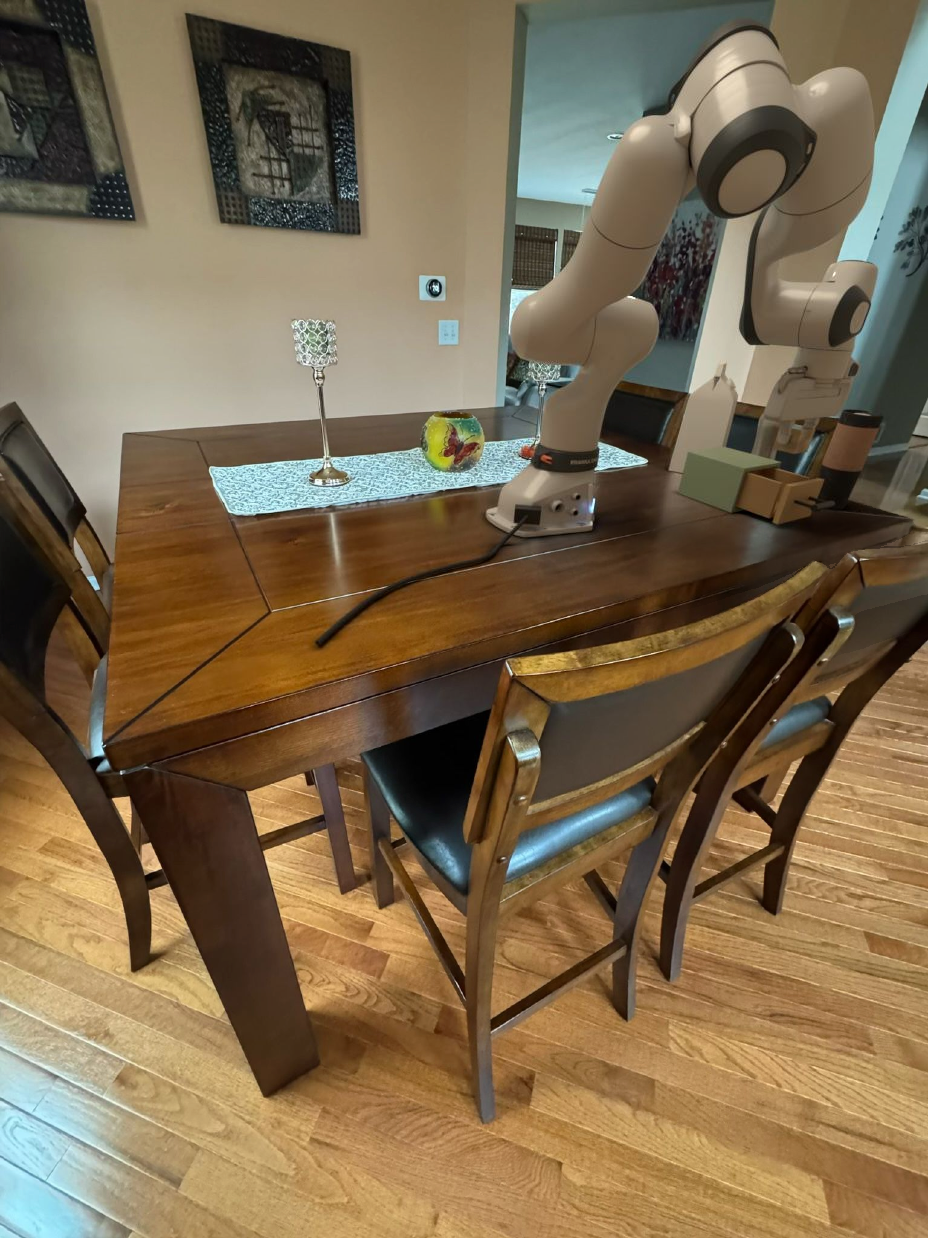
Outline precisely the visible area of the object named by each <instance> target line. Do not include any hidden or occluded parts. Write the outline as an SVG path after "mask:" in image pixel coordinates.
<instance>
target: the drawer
mask: <svg viewBox="0 0 928 1238" xmlns="http://www.w3.org/2000/svg"><path fill="white" fill-rule="evenodd" d="M823 482H824V479H821V478H817V477H816V478H813V479H811V477H809V476H806V475H802V474H799V473H795V472H791V471H788V470H785V469H781V468H779V469H778V468H774V467H771V468H765V469H759V470H754V471H748V472H746V473H745V476H744V480H743V483H742V486H741V489H740V492H739V496H738V499H737V502H736V505H735V506H736V507H739V508H742V509H744V510H743V511H748V512H749V513H753V514H755V515H758V516H762V517H764V518H767V519H772V518H773V519H772V523H773V524H776V525H780V524H785V523H788V522H792V521H796V520H797V521H798V520H800V519H805V518H808V517H811V516H812V513H816V512H820V511H824V510H829V509H828V508H832V507H834V505H835V502H834V501H824V500H821V499H817V498H818V495H819V493H820V490H821V487H822V485H823ZM816 502H818V504H815V503H816Z"/></svg>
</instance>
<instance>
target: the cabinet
mask: <svg viewBox="0 0 928 1238" xmlns="http://www.w3.org/2000/svg"><path fill="white" fill-rule="evenodd" d="M781 465H782V461H778V460H776V459H775V460H771V459H768V458H764V457H760V456H757V455H753V454H751V453H749V452H746V451H741V450H737V449H734V448H730V447H727V446H726V447H719V448H711V449H704V450H697V451H690V452H688V454H687V458H686V462H685V466H684V470H683V473H681V478H680V483H679V486H678V490H677V494H679V495H681V496H684V497H687V498H690V499H693V500H695V501H698V502H701V503H702V504H703V503H704V504H705V505H708V506H711V507H714V508H717V509H719V510H723V511H725V512H727V513H730V514H733V513H736V512H741V511H745V510H744V509H742V508H739V507H736V506H735V505H736V502H737V499H738V496H739V492H740V489H741V486H742V483H743V480H744V476H745V473H746V472H748V471H754V470H759V469H765V468H771V467H774V468H778V469H781Z"/></svg>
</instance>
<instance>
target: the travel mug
mask: <svg viewBox="0 0 928 1238" xmlns="http://www.w3.org/2000/svg"><path fill="white" fill-rule="evenodd" d="M884 417H885V414H883V413H879V414H872V413H870V412H869V411H868V410H866V409H865V410H864V409H856V408H855V409H853V408H850V409H849V408H847V409H842V410H841V414H840V416H839V419H838V421H837V424H836V426H835V428H834V429H835V430H834V431H833V434H832V437H831V439H830V442H829V444H828V447H827V449H826V452H825V454H824V457H823V460H822V461H821V465H820V468H819V471H818V473H817V475H816V479H817V478H821V479H824V482H823V485H822V487H821V490H820V493H819V495H818V498H817V499H821V500H824V501H834V502H835V505H834V507H832V508H828V509H827V510H834V511H835V510H837V511H838V510H839V511H840V510H844V508H845V507H846V505H847V503H848V501H849V499H850V496H851V494H852V493H853V490H854V488H855V486H856V483H857V481H858V479H859V477H860V475H861V474H862V471H863V468H864V466H865V463H866V460H867V459H868V456H869V453H870V452H871V449H872V446H873V444H874V442H875V439H876V436H877V434H878V432H879V429H880V427H881V425H882V422H883V419H884ZM815 504H818V502H816V503H815Z"/></svg>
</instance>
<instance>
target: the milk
mask: <svg viewBox="0 0 928 1238" xmlns="http://www.w3.org/2000/svg"><path fill="white" fill-rule="evenodd" d="M727 363H728V362H726V361H720V362H719V363H717V366H716V369H715V373H714V376H713V377H712V378H710V379H709V380H707V382H705V383H704V384H702V385H701V386H700V387H698V388H697V389H696V390H694V391H693V392H692V393H690V395H689V398H688V400H687V403H686V406H685V410H684V413H683V417H682V421H681V424H680V427H679V431H678V434H677V438H676V442H675V445H674V449H673V452H672V456H671V459H670V463H669V466H668V471H669V472H674V473H675V472H676V473H681V474H683V470H684V466H685V462H686V458H687V454H688V452H690V451H697V450H704V449H711V448H719V447H727V444H728V439H729V435H730V431H731V427H732V423H733V419H734V416H735V411H736V407H737V405H738V404H737V403H738V400H739V394H738V392H737V390H736V388H737V386H736V384H735V382H734V380H733V378H731V377H729V378H728V377H727V375H726V370H727Z"/></svg>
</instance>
